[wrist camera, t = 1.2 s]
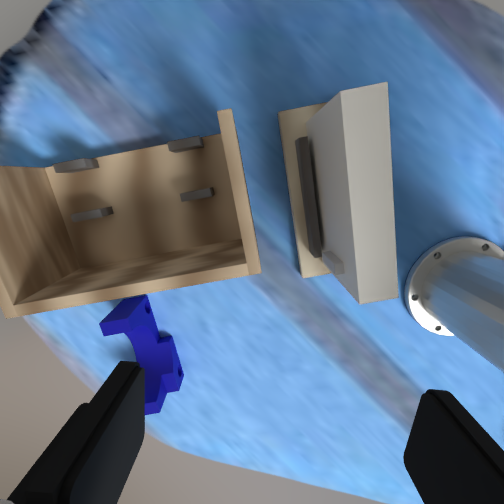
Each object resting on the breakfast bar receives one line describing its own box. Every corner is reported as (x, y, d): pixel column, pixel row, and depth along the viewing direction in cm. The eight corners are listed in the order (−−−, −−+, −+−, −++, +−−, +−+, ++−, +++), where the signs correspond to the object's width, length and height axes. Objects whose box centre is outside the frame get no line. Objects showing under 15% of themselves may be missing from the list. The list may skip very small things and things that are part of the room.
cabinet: (236, 132, 30) (231, 108, 19) (256, 241, 33) (261, 273, 22) (45, 169, 30) (-64, 166, 20) (82, 273, 33) (6, 318, 23)
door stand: (353, 99, 29) (368, 88, 25) (366, 263, 34) (381, 273, 30) (277, 114, 29) (281, 105, 26) (300, 274, 34) (307, 286, 30)
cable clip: (184, 374, 38) (172, 410, 32) (151, 380, 38) (134, 417, 32) (159, 292, 34) (141, 315, 29) (123, 298, 35) (99, 323, 29)
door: (297, 124, 28) (327, 93, 18) (334, 117, 28) (387, 81, 18) (315, 263, 32) (349, 306, 22) (348, 257, 32) (398, 297, 22)
